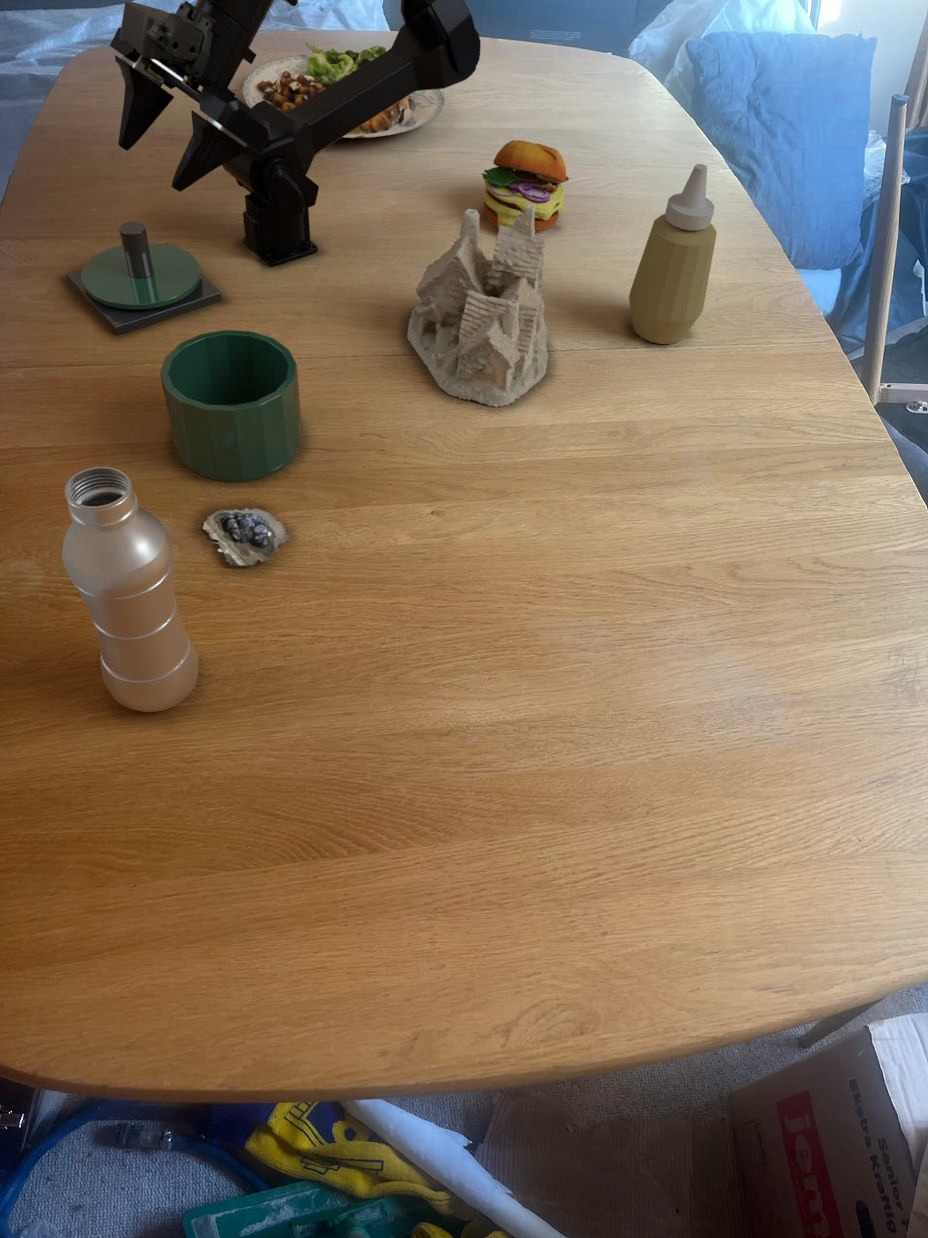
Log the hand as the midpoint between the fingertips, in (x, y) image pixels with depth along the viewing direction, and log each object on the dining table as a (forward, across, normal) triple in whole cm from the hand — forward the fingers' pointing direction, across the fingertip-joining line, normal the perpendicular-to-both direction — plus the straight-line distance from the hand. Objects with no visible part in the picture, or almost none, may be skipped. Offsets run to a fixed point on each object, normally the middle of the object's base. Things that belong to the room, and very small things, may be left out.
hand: (148, 168), depth 95 cm
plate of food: (-19, -23, +42) cm, 51 cm away
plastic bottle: (+28, +45, -15) cm, 56 cm away
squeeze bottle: (-16, +40, +34) cm, 55 cm away
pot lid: (+10, 0, +6) cm, 12 cm away
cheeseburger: (-19, +13, +40) cm, 46 cm away
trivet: (+11, 0, +7) cm, 13 cm away
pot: (+15, +26, +1) cm, 30 cm away
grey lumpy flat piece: (+19, +37, -5) cm, 42 cm away
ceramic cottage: (-3, +30, +21) cm, 37 cm away
